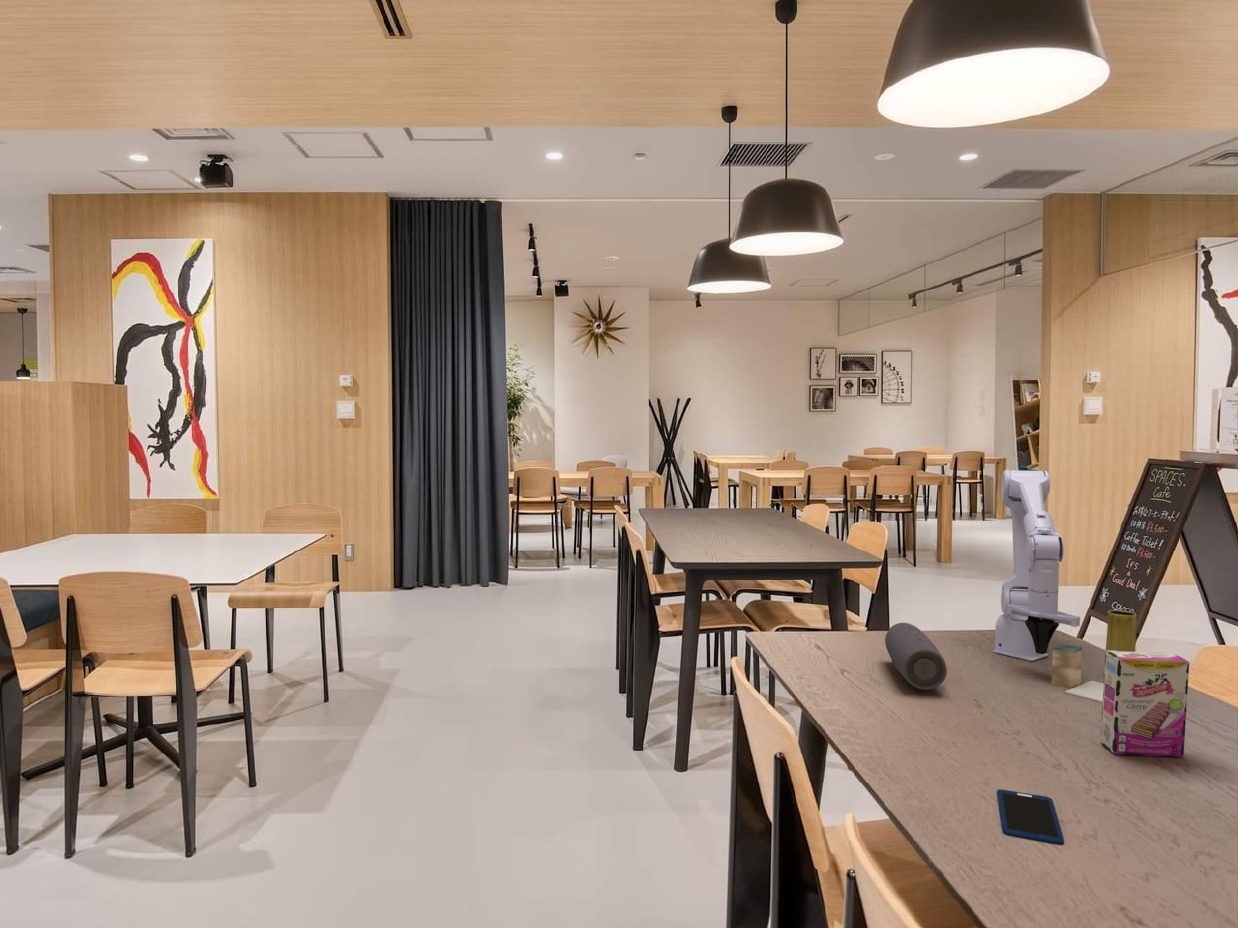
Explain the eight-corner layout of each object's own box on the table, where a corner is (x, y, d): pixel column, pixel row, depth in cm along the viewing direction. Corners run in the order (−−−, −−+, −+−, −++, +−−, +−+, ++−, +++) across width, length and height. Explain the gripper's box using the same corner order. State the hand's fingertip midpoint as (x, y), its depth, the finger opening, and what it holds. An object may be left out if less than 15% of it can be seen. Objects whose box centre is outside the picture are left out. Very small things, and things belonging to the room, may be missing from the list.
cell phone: (1051, 801, 116) (1052, 796, 116) (1065, 848, 103) (1065, 843, 103) (996, 792, 119) (996, 787, 119) (1002, 837, 106) (1002, 831, 106)
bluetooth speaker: (949, 697, 160) (951, 648, 159) (901, 694, 161) (902, 646, 161) (924, 664, 182) (925, 620, 182) (882, 662, 183) (883, 619, 183)
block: (1051, 683, 169) (1052, 646, 168) (1060, 680, 171) (1061, 643, 171) (1071, 688, 165) (1072, 650, 165) (1080, 684, 168) (1081, 647, 167)
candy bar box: (1114, 755, 132) (1118, 657, 131) (1099, 743, 137) (1102, 649, 136) (1186, 759, 131) (1190, 660, 130) (1168, 746, 136) (1172, 651, 135)
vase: (1142, 682, 170) (1145, 616, 169) (1113, 682, 170) (1116, 615, 169) (1125, 673, 176) (1127, 609, 175) (1097, 673, 176) (1099, 609, 175)
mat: (1064, 692, 163) (1065, 691, 163) (1091, 681, 170) (1091, 680, 170) (1113, 705, 155) (1113, 703, 155) (1138, 693, 163) (1138, 691, 163)
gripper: (1000, 586, 175) (998, 648, 176) (1069, 598, 163) (1067, 664, 164) (1016, 583, 179) (1015, 643, 180) (1085, 594, 168) (1083, 658, 168)
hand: (1041, 652), depth 172 cm, fingers closed
